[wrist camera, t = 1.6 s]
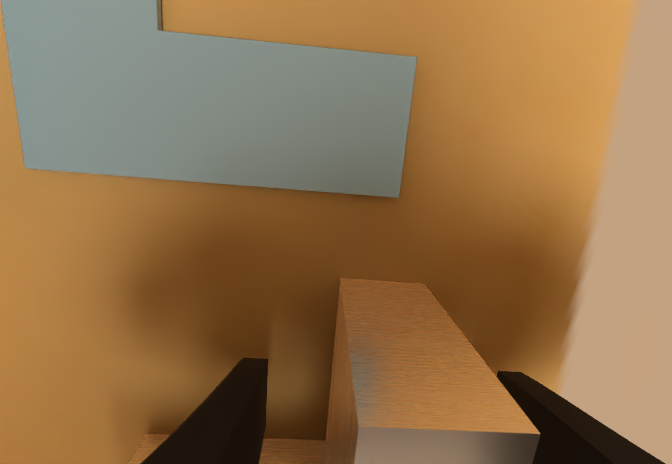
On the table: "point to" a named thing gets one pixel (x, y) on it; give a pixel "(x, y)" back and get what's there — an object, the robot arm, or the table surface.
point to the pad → (201, 102)
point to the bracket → (404, 390)
